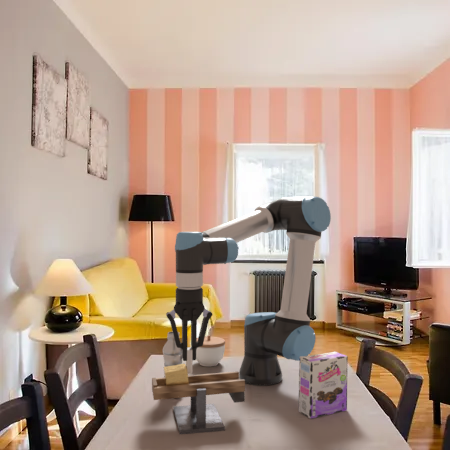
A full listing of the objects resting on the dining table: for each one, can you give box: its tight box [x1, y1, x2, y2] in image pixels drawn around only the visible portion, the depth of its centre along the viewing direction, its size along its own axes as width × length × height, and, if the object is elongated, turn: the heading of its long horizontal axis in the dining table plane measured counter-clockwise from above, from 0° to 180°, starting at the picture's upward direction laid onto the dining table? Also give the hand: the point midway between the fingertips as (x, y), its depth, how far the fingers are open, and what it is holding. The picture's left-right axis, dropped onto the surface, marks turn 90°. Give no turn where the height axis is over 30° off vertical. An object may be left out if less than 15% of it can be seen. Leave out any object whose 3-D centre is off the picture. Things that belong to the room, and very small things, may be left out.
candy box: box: [298, 351, 349, 420], centre depth 140 cm, size 14×6×16 cm, turn 117°
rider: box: [163, 363, 189, 386], centre depth 132 cm, size 6×5×5 cm
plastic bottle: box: [162, 331, 183, 378], centre depth 150 cm, size 6×7×20 cm
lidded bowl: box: [195, 334, 226, 367], centre depth 184 cm, size 13×13×11 cm
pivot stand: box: [172, 388, 226, 435], centre depth 133 cm, size 12×16×10 cm
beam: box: [151, 371, 246, 403], centre depth 133 cm, size 25×9×7 cm, turn 102°
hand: (189, 371), depth 132 cm, fingers closed
